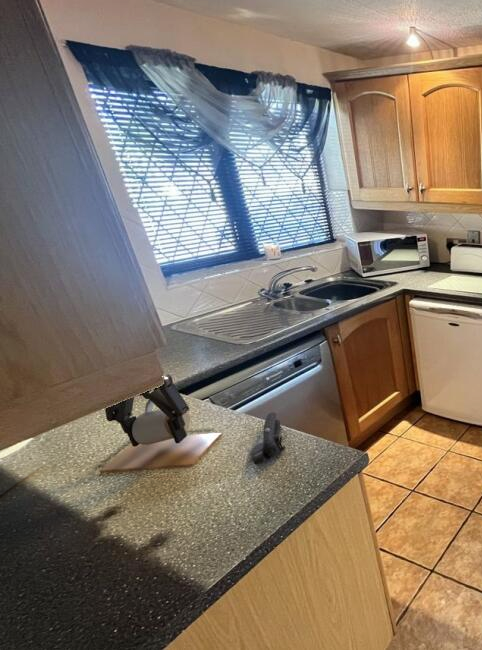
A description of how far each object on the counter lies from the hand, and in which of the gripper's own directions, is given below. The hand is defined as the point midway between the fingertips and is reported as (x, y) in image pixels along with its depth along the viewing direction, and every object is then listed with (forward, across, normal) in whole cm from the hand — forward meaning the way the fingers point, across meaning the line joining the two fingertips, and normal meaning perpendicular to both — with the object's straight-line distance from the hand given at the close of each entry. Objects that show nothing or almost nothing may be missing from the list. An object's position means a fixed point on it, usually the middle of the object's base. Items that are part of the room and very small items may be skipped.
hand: (160, 441), depth 91 cm
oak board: (+3, 0, 0) cm, 3 cm away
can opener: (+4, -25, -1) cm, 25 cm away
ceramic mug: (-4, 0, -6) cm, 7 cm away
